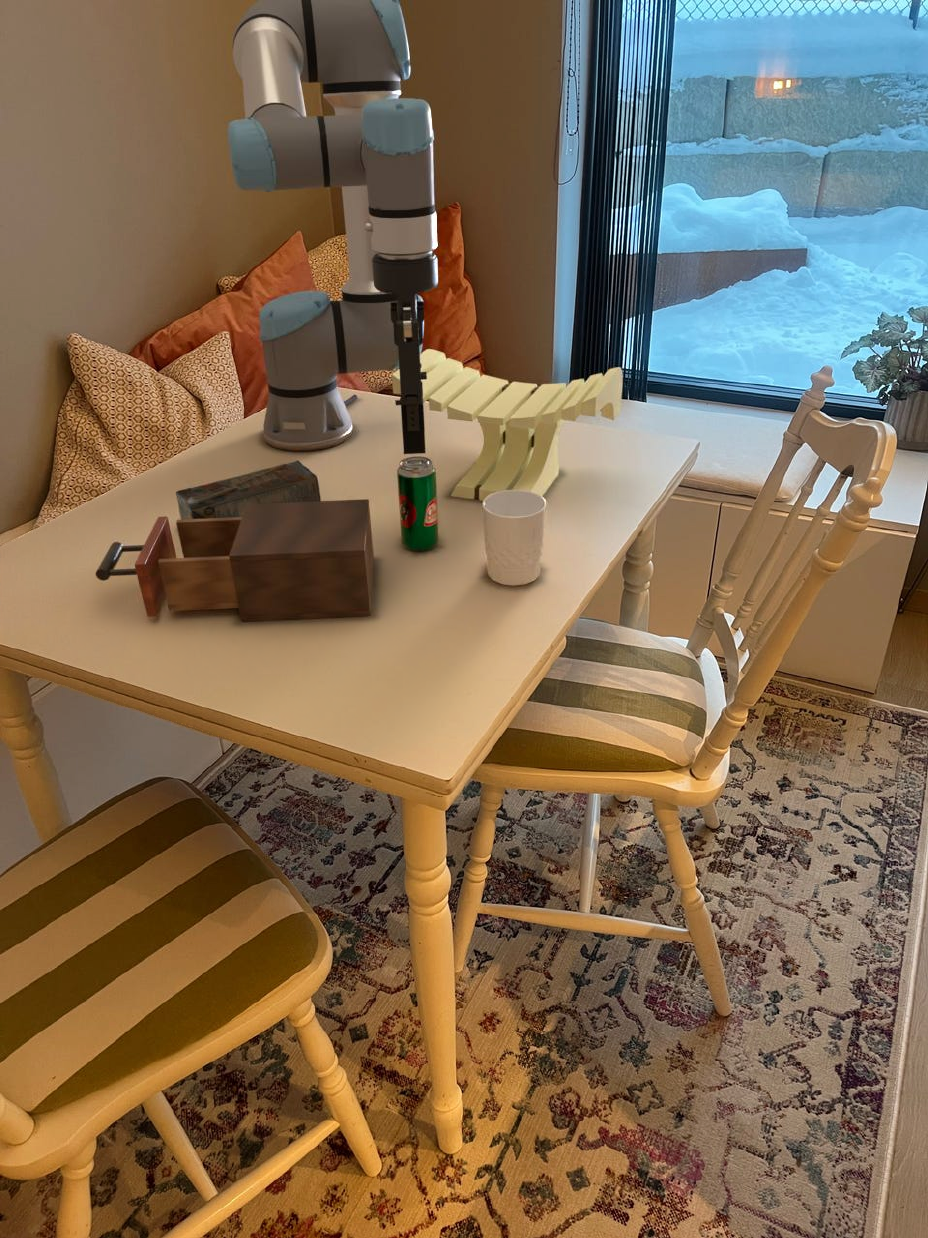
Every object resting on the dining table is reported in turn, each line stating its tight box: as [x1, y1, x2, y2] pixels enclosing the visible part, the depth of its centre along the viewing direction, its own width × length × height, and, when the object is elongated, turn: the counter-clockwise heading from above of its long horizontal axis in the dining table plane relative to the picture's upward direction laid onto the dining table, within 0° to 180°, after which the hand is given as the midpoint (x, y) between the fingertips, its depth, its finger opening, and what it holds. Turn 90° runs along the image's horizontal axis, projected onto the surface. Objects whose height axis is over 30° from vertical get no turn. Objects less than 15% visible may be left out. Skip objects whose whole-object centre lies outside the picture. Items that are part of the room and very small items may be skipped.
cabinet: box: [229, 498, 375, 623], centre depth 116 cm, size 16×14×9 cm
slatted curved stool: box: [391, 348, 624, 502], centre depth 140 cm, size 30×16×18 cm, turn 68°
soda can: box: [396, 456, 439, 552], centre depth 125 cm, size 5×5×12 cm
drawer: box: [95, 515, 242, 618], centre depth 115 cm, size 20×12×7 cm, turn 93°
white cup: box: [481, 490, 547, 587], centre depth 118 cm, size 8×8×10 cm
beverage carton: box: [175, 460, 322, 520], centre depth 133 cm, size 8×19×7 cm, turn 121°
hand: (414, 441), depth 120 cm, fingers open, 7 cm apart
